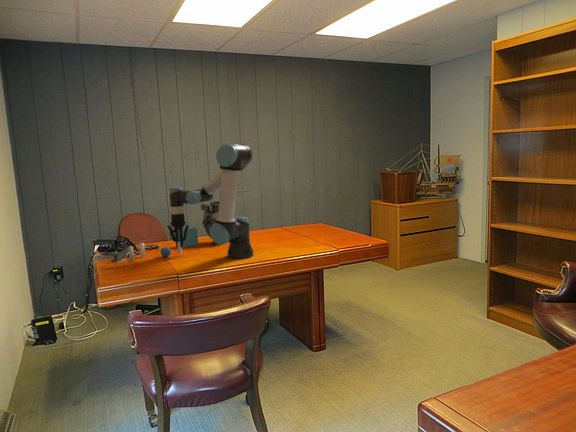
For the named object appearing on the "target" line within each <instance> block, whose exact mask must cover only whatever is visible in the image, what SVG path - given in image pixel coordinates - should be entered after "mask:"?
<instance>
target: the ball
mask: <svg viewBox="0 0 576 432" xmlns="http://www.w3.org/2000/svg"><path fill="white" fill-rule="evenodd" d="M160 255H161V256H162V257H165V258H167V257H169V256H171V255H172V250H171V248H170V247H168V246H163V247H162V248H161V249H160Z"/></svg>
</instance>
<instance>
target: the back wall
mask: <svg viewBox="0 0 576 432" xmlns="http://www.w3.org/2000/svg"><path fill="white" fill-rule="evenodd" d="M128 252H129V247H127V248H125V249H123V250H121V251H119V252H117V253H115V254H114V255H113V261H114V263H119V262H120V261H122V260H124V259H125V257H126V255H127V253H128ZM123 258H124V259H123ZM126 258H127V257H126Z"/></svg>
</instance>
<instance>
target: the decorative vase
mask: <svg viewBox="0 0 576 432" xmlns="http://www.w3.org/2000/svg"><path fill="white" fill-rule="evenodd" d="M200 208H201V209H200V210H202V211H204V212H203V221H202V226H203V227H204V229H205V232H206V234H207V235H208V237H209V238H210V239H211V240H212V241H211V243H212V245H215V244H218V243H216V242H214V241H213V239H212V238H211V236H210V232H209V231H210V227H211V226H212V225H213V224H214V223H215V217H216V216H218V211H219V201H212V202H210V204H207V203H205V202H204V203H201V204H200Z"/></svg>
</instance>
